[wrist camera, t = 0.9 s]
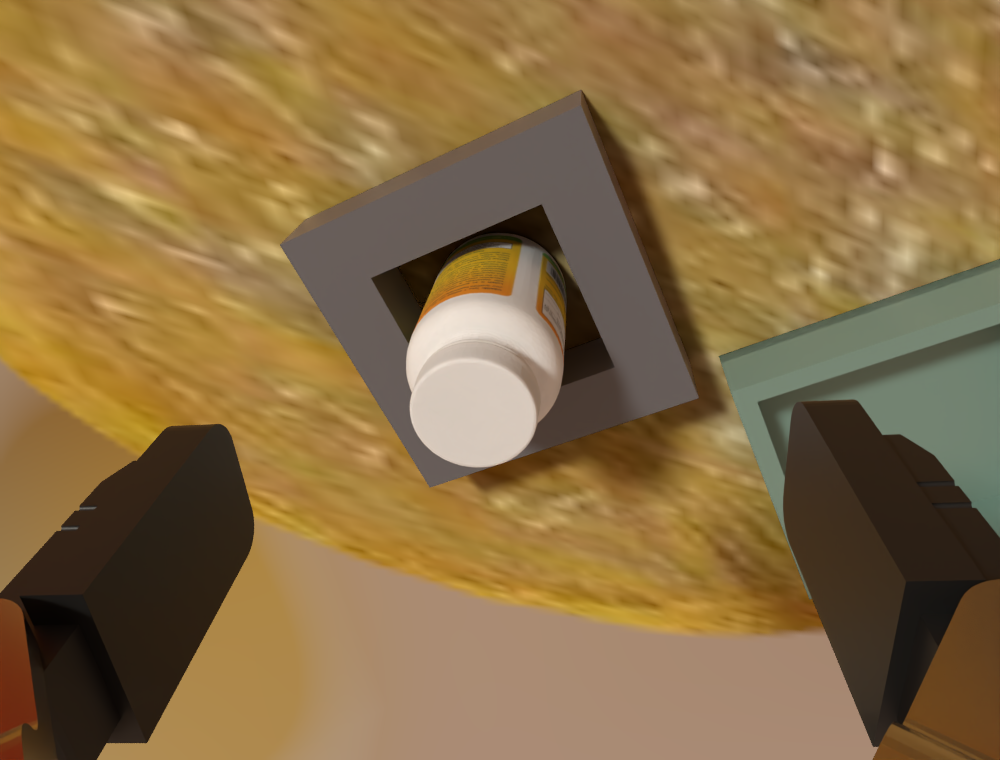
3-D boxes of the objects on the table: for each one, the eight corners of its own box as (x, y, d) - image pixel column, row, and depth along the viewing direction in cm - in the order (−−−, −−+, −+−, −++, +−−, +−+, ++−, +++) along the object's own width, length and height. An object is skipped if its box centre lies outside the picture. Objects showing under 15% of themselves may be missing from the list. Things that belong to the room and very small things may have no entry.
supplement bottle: (415, 310, 33) (357, 438, 24) (476, 204, 30) (434, 304, 22) (524, 371, 34) (505, 513, 25) (592, 272, 31) (595, 393, 23)
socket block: (581, 89, 28) (580, 105, 25) (689, 362, 33) (698, 398, 30) (305, 219, 31) (279, 244, 29) (441, 448, 36) (429, 487, 34)
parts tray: (1020, 251, 29) (1063, 282, 27) (1060, 483, 34) (1100, 528, 31) (719, 356, 32) (730, 392, 30) (793, 553, 37) (809, 599, 35)
